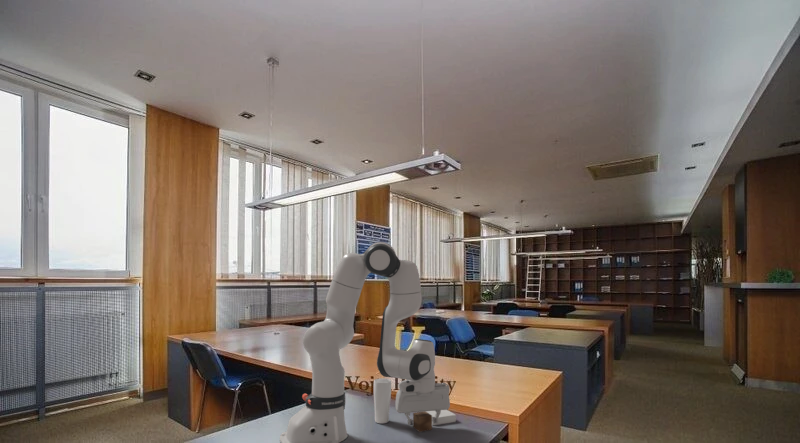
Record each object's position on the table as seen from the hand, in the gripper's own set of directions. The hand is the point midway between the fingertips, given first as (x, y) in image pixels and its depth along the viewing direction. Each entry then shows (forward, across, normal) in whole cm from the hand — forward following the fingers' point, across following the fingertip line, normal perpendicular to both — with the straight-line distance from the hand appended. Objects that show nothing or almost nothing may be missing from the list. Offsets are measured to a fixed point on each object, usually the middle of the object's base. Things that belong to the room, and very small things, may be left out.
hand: (422, 423), depth 151 cm
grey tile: (+2, -9, -8) cm, 12 cm away
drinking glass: (+2, +13, -10) cm, 17 cm away
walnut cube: (+2, 0, 0) cm, 2 cm away
